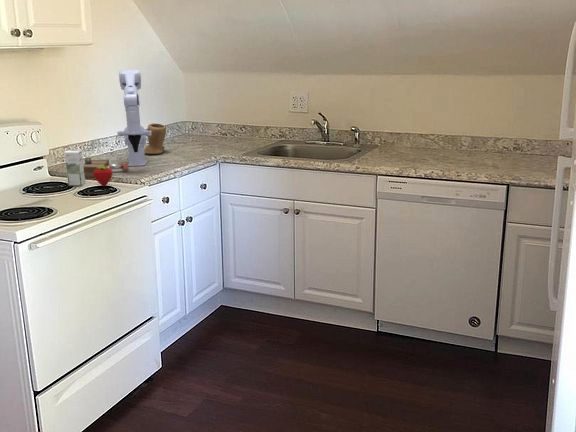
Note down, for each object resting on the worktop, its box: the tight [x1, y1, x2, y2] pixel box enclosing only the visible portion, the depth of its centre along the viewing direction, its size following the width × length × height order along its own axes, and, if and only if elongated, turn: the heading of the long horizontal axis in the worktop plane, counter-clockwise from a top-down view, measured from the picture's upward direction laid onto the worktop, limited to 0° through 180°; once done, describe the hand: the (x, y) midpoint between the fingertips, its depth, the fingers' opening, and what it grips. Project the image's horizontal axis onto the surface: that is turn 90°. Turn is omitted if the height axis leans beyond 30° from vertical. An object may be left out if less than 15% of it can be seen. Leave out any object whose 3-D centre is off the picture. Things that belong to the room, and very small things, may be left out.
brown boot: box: [144, 122, 167, 155], centre depth 328 cm, size 15×12×15 cm
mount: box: [83, 159, 110, 180], centre depth 285 cm, size 15×9×5 cm, turn 5°
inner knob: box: [107, 161, 130, 172], centre depth 289 cm, size 4×12×4 cm, turn 95°
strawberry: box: [93, 162, 113, 187], centre depth 263 cm, size 6×8×10 cm
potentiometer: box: [84, 154, 92, 164], centre depth 283 cm, size 3×3×4 cm
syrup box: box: [64, 148, 86, 187], centre depth 266 cm, size 6×6×14 cm
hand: (136, 151), depth 285 cm, fingers closed
